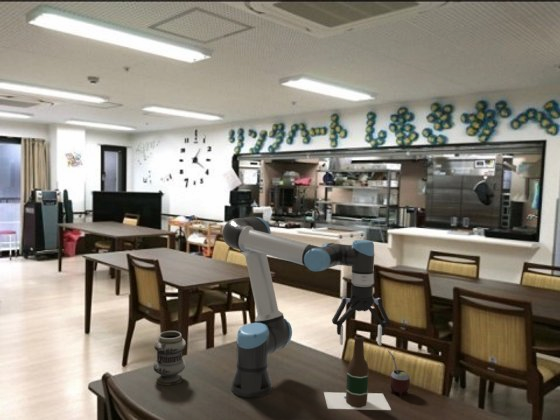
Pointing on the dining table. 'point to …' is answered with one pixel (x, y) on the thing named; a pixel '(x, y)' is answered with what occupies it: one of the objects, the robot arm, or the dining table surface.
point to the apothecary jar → (169, 357)
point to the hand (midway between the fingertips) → (360, 343)
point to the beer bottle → (357, 376)
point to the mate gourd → (399, 381)
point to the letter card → (373, 403)
